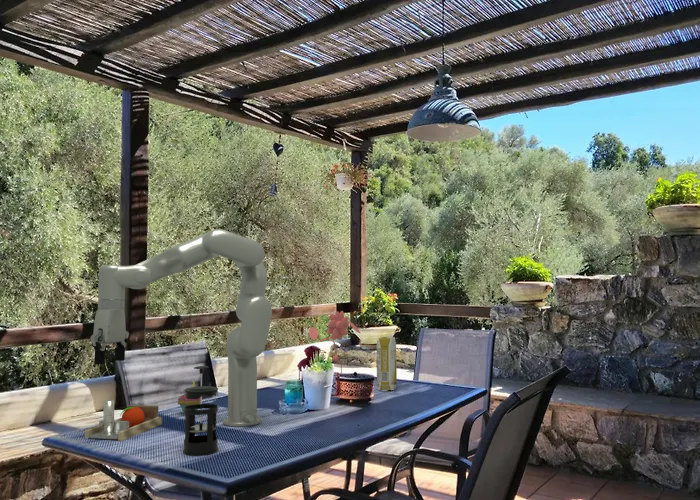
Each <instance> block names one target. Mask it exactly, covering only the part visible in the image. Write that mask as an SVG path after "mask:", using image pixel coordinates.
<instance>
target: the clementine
mask: <svg viewBox="0 0 700 500" xmlns="http://www.w3.org/2000/svg"><path fill="white" fill-rule="evenodd" d="M119 417H121V418H122V421H129V428H130V427H133V426H136V425H138V424H141V423H143V421H144V412H143V411H142V410H141V409H140V408H139V407H134V406H133V407H129V408H127V407H126V408H125V409H123V410H122V411H121V412H120V415H119Z"/></svg>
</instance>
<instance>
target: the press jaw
mask: <svg viewBox="0 0 700 500" xmlns="http://www.w3.org/2000/svg"><path fill="white" fill-rule="evenodd" d="M102 411H103V417H102V418H103V419H102V420H99V421H98V426H99V431H98V432H95V433H92V434H90V439H105V440H118V432H120V431H123V430H125V429H128V428H129V421H114V420H115V400H114V399H106V400H103V410H102Z"/></svg>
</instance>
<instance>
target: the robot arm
mask: <svg viewBox="0 0 700 500" xmlns="http://www.w3.org/2000/svg"><path fill="white" fill-rule="evenodd" d="M265 253H266V252H265V248H264V247H263V245H262V244H261V243H260V242H258V241H256V240H253V239H251V238H249V237H245V236H242V235H240V234H237V233H234V232H232V231H228V230H225V229H220V228H218V229H213V230H210V231H208V232H205V233H202V234H200V235H198V236H196V237H194V238H191V239H189V240H187V241H184V242H182V243H180V244H179V243H178V244H177V245H174V246H172V247H171V248H168V249H167V250H165V251H163V252H161V253H159V254H157V255H154V256H153V257H150V258H148V259H146V260H143V261H140V262H139V263H137V264H134V265H133V264H132V265H131V264H130V265H119V264H105V265H101V266H100V267H99V270H98V291H97V292H98V295H97V296H98V297H97V298H98V300H97V310H96V312H95V317H94V321H93V323H94V324H93V333H92V335H91V336H90V340H91V346H92V347H93V349H92V350H93V351H94V364H95V365H105V364H106V350H105V348H106V346H107V344H109V345H110V344H115V347H114V361H117V362H119V361H120V362H121V361H123V362H124V361H125V359H126V347H127V343H128V338H129V335H130V333H129V331H127V329H126V315H125V312H126V311H125V302H126V301H125V299H126V298H125V295H126V294H125V293H126V288H130V289H132V290H141V289H145V288H146V287H148V286H149V285H151V283H154V282H156V281H158V280H161V279H163V278H165V277H168V276H171V275H175V274H179V273H182V272H185V271H188V270H190V269H191V268H194V267H196V266H198V265H200V264H203V263H205V262H208V261H209V260H212V259H215V258H216V257H218V256H220V257H222V258H225V259H228V260H232V262H233V263H234V265H235V266H236V267H238V269H239V272H240V274H241V283H240V289H239V294H238V299H237V302H236V308H235V314H236V317H237V318H238V320H239V321H241V325H240V326H237V327H235V328H234V329H232V330H230V332H229V333H228V335H227V338H226V354H227V363H228V364H227V370H228V372H227V374H228V377H227V417H225V418H224V419H223V420H222V423H223V425H224V426H231V427H247V426H254V425H258V424H260V423H262V419H263V418H262V417H261V416H259V415H258V363H257V362H258V361H257V360H258V359H257V357H258V356H260V355H261V354H262V353H263V351H264V350H265V348H266V345H267V342H268V338H269V332H270V327H271V324H272V323H271V321H272V315H273V309H272V304H271V302H270V301H269V299H267V298H266V290H267V283H268V274H267V270H266V267H265V265H264V263H263V261H264V258H265Z"/></svg>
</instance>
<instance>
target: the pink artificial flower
mask: <svg viewBox="0 0 700 500" xmlns="http://www.w3.org/2000/svg"><path fill="white" fill-rule="evenodd" d="M329 320H330V321H329V322H328V323H327V326H328V328H327V331H326V332H327V334H328V335H331V336H329V337H326V338H324V339H321V337H320V336H319V331H318V329H317V328H316V327H315V326H312V327H311V328H310V329H309V332H308V336H309V337H310V339H311V340H312V341H314V342H315V341H316V340H317V339H318V340H319V341H320V343H322V342H324V341H327V340H329V339H331V340H332V343H333V345H334V355H333V356H332V360H333V361H332V362H335V363H336V362H339V363H340V374H341V373H343V371H342V361H340V359H339V358H340V357H339V356H338V355H337V347H336V342H335V340H336V339H337V340H338V341H340V340H342V338H343V336H347V335H348V331H347V329H348V328H349V326H350V327H351V328H352V329H353V330H354V331H356V333H358V334H361V331H360V329H359V328H358V327H357V326H356V325H355V323H353V322H351V321H350V320H349V317H348V316H345V313H344V311H343V310H341V311H340V312H339V311H336V312H335V314H334V313H332V314H329Z"/></svg>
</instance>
